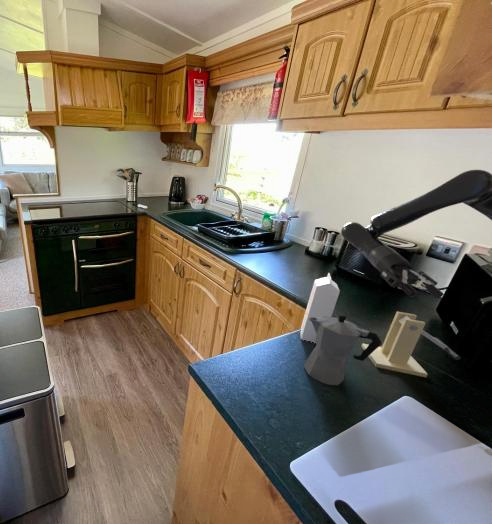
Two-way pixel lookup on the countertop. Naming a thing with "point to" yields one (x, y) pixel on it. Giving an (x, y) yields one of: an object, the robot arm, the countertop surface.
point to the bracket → (399, 346)
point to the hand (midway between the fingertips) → (427, 296)
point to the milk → (319, 305)
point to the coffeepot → (335, 348)
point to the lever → (436, 341)
